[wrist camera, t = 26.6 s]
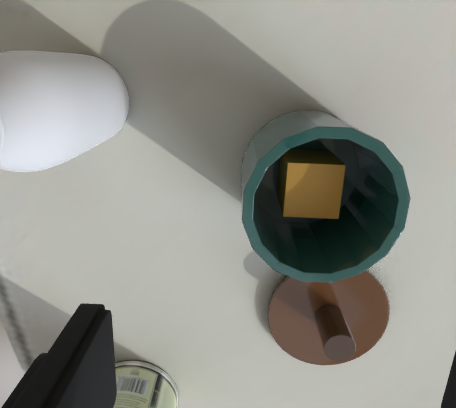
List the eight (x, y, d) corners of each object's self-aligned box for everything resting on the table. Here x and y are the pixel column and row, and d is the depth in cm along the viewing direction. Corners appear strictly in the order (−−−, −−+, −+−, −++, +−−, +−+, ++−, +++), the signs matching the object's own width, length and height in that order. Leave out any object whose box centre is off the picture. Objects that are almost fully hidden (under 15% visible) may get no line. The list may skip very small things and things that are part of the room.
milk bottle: (89, 35, 34) (-93, -4, 16) (148, 107, 36) (50, 150, 17) (29, 91, 36) (-201, 119, 17) (88, 157, 38) (-61, 247, 19)
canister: (244, 107, 36) (246, 123, 26) (373, 112, 36) (424, 130, 26) (239, 226, 40) (239, 278, 30) (355, 231, 40) (393, 285, 30)
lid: (271, 254, 41) (277, 286, 35) (395, 259, 41) (421, 292, 35) (264, 355, 45) (267, 398, 39) (376, 360, 45) (396, 404, 39)
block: (280, 148, 37) (287, 162, 31) (330, 150, 37) (346, 164, 31) (276, 196, 38) (283, 216, 33) (324, 198, 38) (338, 219, 33)
